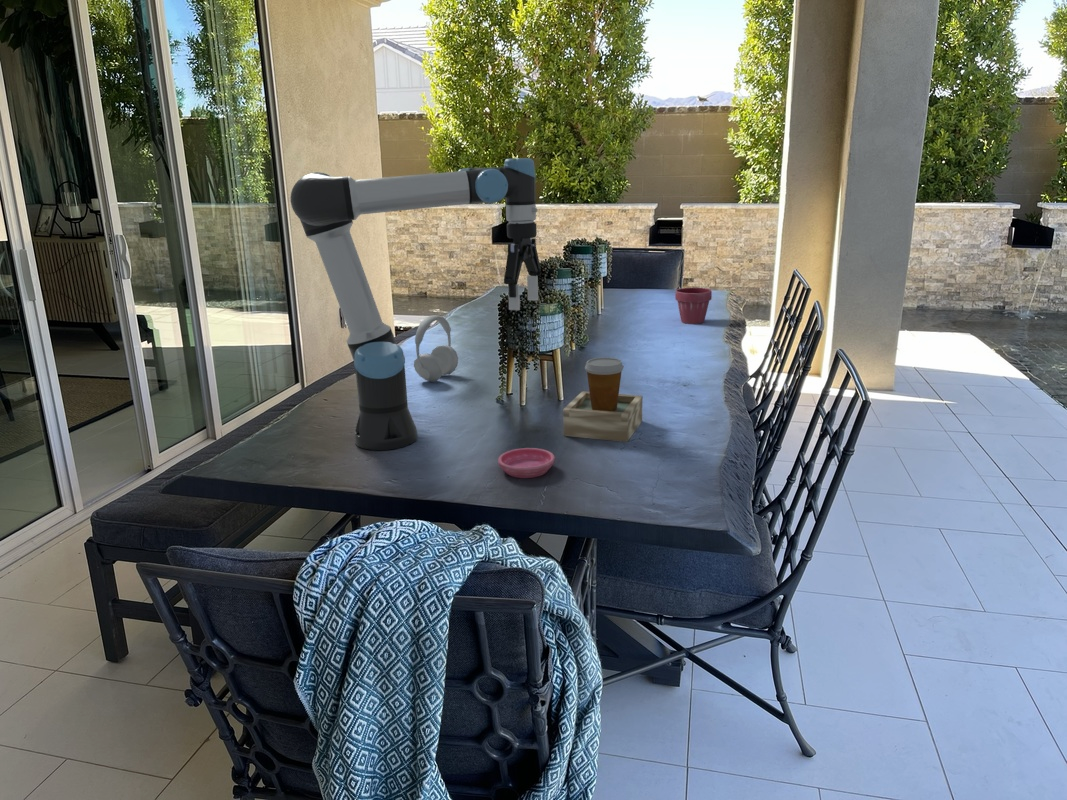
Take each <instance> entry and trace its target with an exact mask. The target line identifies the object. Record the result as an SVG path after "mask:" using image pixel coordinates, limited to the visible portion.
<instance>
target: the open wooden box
mask: <svg viewBox="0 0 1067 800" xmlns="http://www.w3.org/2000/svg"><path fill="white" fill-rule="evenodd" d="M562 415H563V417H562V418H563V419H562V421H563V423H562V424H563V427H562V429H563V436H565V437H574V438H584V439H594V440H604V441H615V442H622V443H623V442H624V443H627V442H628V441H629V440H630V439H631V438H632V436H633V435H634V433H635V432H636V430H637V429H638V428H639V426H640V425H641V423H642V422H643V395H635V394H624V393H619V395H618V403H617V409H616V410H614V411H599V410H592V407H591V399H590V392H589V390H588V391H584V390H582V391H581V392H580V393H579V394H577V396H576V397H574V399H572V400H571V401H570V402H569V403H568V404H567V405H566V406H565V407H564V408H563V409H562Z"/></svg>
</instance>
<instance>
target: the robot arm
mask: <svg viewBox="0 0 1067 800" xmlns="http://www.w3.org/2000/svg"><path fill="white" fill-rule="evenodd" d="M535 169H536V168H535V162H534V160H533V159H532V158H528V157H525V158H524V157H523V158H517V157H516V158H505V160H504V164H503V166H500V167H468V168H467V167H466V168H460V169H458V171H457V170H456V171H446V172H445V171H444V172H438V173H437V172H435V173H424V174H411V175H401V176H400V175H399V176H388V177H387V176H386V177H378V178H367V179H366V178H363V179H354V178H353V177H351V176H350V175H344V176H331V175H330V174H327V173H325V172H324V173H323V172H312V173H311V172H310V173H307V174H305V175H303V176H302V177H301V178H299V179H298V180H297V181H296V182H295V183H294V185H293V186H292V189H291V192H290V205H291V208H292V210H293V213H295V215H296V217H297V218H298V219H299V221H300V223H301V225H302V226H301V227H302V228H303V231H304V234H305V236H306V238H308V239H309V240H311V241H313V242H314V243H315V244H316V248H317V250H318V252H319V255H320V258H321V260H322V263H323V266H324V268H325V271H326V274H327V276H328V279H329V281H330V284H331V287H332V289H333V293H334V294H335V297H336V300H337V303H338V305H339V308H340V310H341V313H342V316H343V318H344V321H345V324H346V327H347V329H348V332H349V335H348V338H347V340H346V344H347V346H348V349H349V352H350V355H351V357H352V360H353V364H354V365H353V366H354V368H355V378H356V386H357V387H356V388H357V390H356V391H357V399H358V407H359V409H358V411H359V413H358V417H357V422H356V426H355V429H354V430H355V431H354V443H355V445H356V446H357V447H359V448H361V449H364V450H369V451H386V450H387V451H388V450H396V449H400V448H403V447H407V446H409V445H411V444H413V443H415V442H416V441H417V439H418V429H417V427H416V424H415V421H414V419H413V417H412V414H411V412H410V410H409V406H408V405H409V404H408V394H407V393H408V392H407V391H408V390H407V381H406V380H407V379H406V368H405V363H406V358H405V357H406V356H405V355H404V350H403V348H402V347H401V346H400V345H398V343H397V341H396V340H395V335H394V333H393V330H392V327H391V326H390V325H388V324H386V323H384V322H383V321H382V317H381V315H380V312H379V309H378V306H377V304H376V300H375V298H374V295H373V293H372V289H371V287H370V284H369V281H368V278H367V275H366V273H365V270H364V267H363V264H362V262H361V259H360V257H359V254H358V251H357V248H356V246H355V243H354V240H353V237H352V234H351V229H352V226H353V224H354V221H355V220H357V219H358V218H359V217H360V216H361V215H369V214H382V213H389V212H400V211H402V212H403V211H409V210H411V211H412V210H420V209H431V208H440V207H451V206H452V207H453V206H460V205H471V204H472V205H473V204H483V203H485V204H494V203H498V202H500V201H502V200H503V199H505V218H506V221H508V222H507V224H506V236H507V238H508V239H512V241H513V242H512V243H508V244H507V256H506V262H505V263H506V265H505V270H504V279H503V284H504V285H507V291H508V292H507V293H508V310H509V311H520V310H521V301H520V300H521V299H520V297H521V296H520V283H518V282H519V277H520V274H521V271H522V266H523V263H524V266H525V268H526V271H527V273H528V274H527V276H526V280H527V281H526V282H527V283H526V284H527V285H526V287H527V301H539V284H538V283H539V282H538V281H539V279H538V276H541V275H542V269H541V264H540V260H539V259H540V258H539V255H538V250H537V249H538V248H537V242H536V241H537V239H536V237H537V235H538V234H537V233H538V232H537V223H536V222H535V221H536V220H537V212H538V208H537V207H536V206H537V204H536V203H537V201H536V177H537V176H536V171H535Z"/></svg>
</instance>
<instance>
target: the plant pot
mask: <svg viewBox="0 0 1067 800" xmlns="http://www.w3.org/2000/svg"><path fill="white" fill-rule="evenodd" d="M712 292H713V291H712V289H710V288H706V287H682V288H678V289H676V290H675V293H674V294H675V295H674V296H675V297H674V298H675V301H677V305H678V306H677V307H678V313H679V317H680V322H681V323H683V324H688V325H698V324H699V325H700V324H703V323H705V321H706V316H707V314H708V313H707V312H708V308H709V303H710V301H711V300H712V298H713V297H712V294H713V293H712Z"/></svg>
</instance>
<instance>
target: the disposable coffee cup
mask: <svg viewBox="0 0 1067 800" xmlns="http://www.w3.org/2000/svg"><path fill="white" fill-rule="evenodd" d="M624 366H625V365H623V362H622V360H621V359H619V358H615V357H614V358H613V357H595V358H590V359H588V360H587V361H586V363H585V366H584V369H585V371H586V376H587V383H588V389H589V390H588V392H590V399H591V407H592V410H599V411H614V410H616V409H617V403H618V395H619V394H620V386H621V385H620V384H621V378H622V371H623V370H624V368H625V367H624Z"/></svg>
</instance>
